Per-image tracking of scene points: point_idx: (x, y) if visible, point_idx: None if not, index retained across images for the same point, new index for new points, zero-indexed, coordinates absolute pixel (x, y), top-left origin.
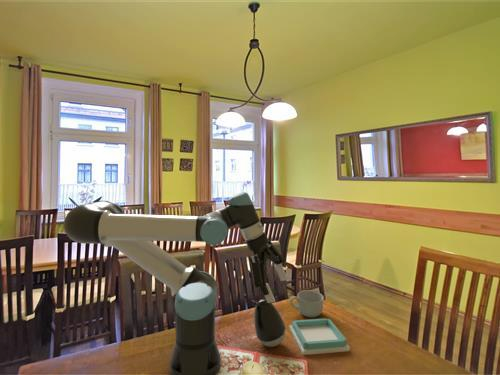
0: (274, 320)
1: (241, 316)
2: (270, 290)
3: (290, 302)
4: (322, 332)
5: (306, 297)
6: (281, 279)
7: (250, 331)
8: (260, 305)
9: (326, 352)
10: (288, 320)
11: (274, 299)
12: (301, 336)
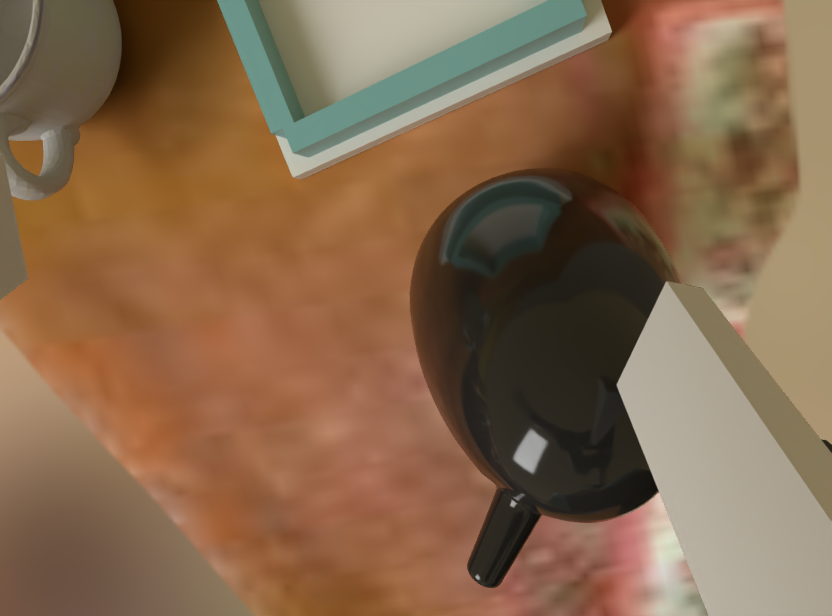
0: (661, 262)
1: (247, 528)
2: (777, 421)
3: (51, 190)
4: None
5: None
6: (3, 272)
7: (412, 438)
8: None
9: None
10: (201, 199)
11: (686, 299)
12: (494, 44)
